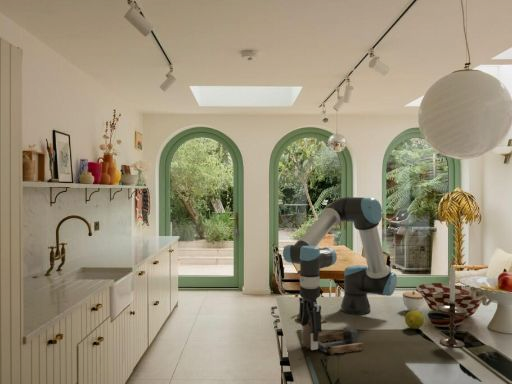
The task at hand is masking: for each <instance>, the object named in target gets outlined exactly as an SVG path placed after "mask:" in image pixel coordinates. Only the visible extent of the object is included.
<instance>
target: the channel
mask: <svg viewBox="0 0 512 384" xmlns="http://www.w3.org/2000/svg"><path fill="white" fill-rule="evenodd" d="M319 336H320V339H319V341H320V342H321V343H327V342H326V341H328V342H335V341H334V340H336V341H343V331H338V332H337V331H336V332H330V333H329V332H327V333H323V334H319ZM359 350H360V351H363V350H364V343H363V342H358V343H354V344H347V345H340V346H333V347H330V348H329V354H330V353H331V354H330V355H335V354H334V353H338V354H343V353H344V352H345V353H349V352H351V353H352V351H353V352H359Z"/></svg>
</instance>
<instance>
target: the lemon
mask: <svg viewBox="0 0 512 384" xmlns="http://www.w3.org/2000/svg"><path fill="white" fill-rule="evenodd" d="M404 321H405V324H406V326H407V327H408V328H409V329H413V330H416V329H417V330H418V329H420V328H422V327H423V325H424V323H425V322H424V321H425V319H424V315H423V314H422V313H421V312H420V311H416V310H412V311H411V310H409V311H408V312H406V315H405V316H404Z"/></svg>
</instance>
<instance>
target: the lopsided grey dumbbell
mask: <svg viewBox="0 0 512 384" xmlns="http://www.w3.org/2000/svg"><path fill="white" fill-rule="evenodd" d="M342 332H343V340H336V341H328V342H320V341H319V343H318V349H317V350H319V349H320V350H319V351H321V352H322V351H323V353H324V352H325V353H327V352H328V349H329V348H328V347H333V346H340V345H347V344H354V343H359V331H358V330H356V329H355V328H352V327H351V326H345V327H343V330H342Z"/></svg>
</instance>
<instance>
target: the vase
mask: <svg viewBox="0 0 512 384" xmlns="http://www.w3.org/2000/svg"><path fill="white" fill-rule="evenodd" d="M310 332H312V328H311V323H307V325H306V327H305V328H304V329H303V331H302V330H301V343H302V342H303V343H302V345H304V346H305V347H306V348H308V349H311V333H310ZM319 335H320V332H319V333H318V343H319V339H320V336H319Z"/></svg>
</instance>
